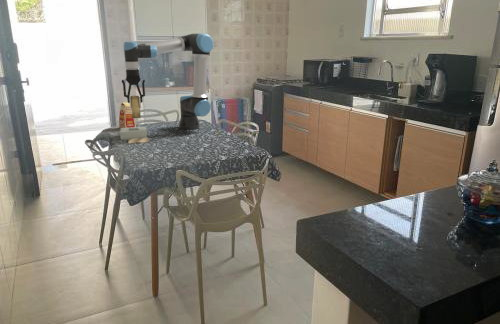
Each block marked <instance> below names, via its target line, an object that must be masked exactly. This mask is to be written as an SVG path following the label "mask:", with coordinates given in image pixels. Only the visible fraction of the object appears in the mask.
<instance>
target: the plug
mask: <svg viewBox="0 0 500 324" xmlns="http://www.w3.org/2000/svg"><path fill="white" fill-rule="evenodd" d="M130 97H131V106H132V118H135V119H140V118H141V108H140V104H139V97H140V95H130Z"/></svg>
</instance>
